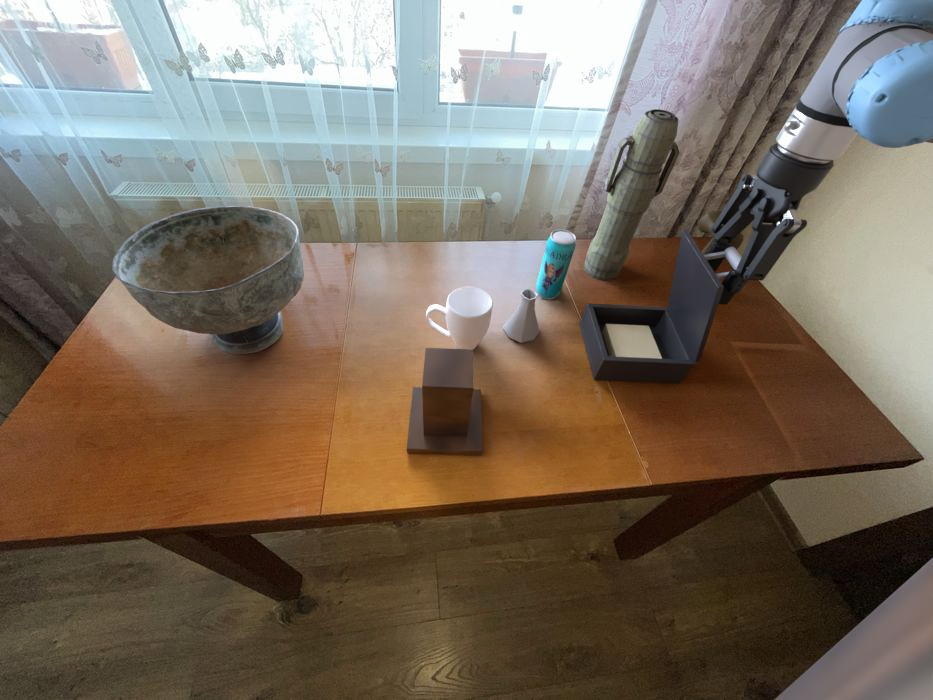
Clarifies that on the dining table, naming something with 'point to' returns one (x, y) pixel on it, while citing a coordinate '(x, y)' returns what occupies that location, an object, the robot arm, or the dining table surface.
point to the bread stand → (446, 406)
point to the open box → (631, 368)
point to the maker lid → (697, 292)
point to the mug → (464, 316)
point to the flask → (523, 318)
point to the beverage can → (555, 263)
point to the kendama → (706, 226)
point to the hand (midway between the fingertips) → (710, 289)
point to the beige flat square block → (630, 341)
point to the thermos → (632, 190)
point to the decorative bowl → (216, 273)
